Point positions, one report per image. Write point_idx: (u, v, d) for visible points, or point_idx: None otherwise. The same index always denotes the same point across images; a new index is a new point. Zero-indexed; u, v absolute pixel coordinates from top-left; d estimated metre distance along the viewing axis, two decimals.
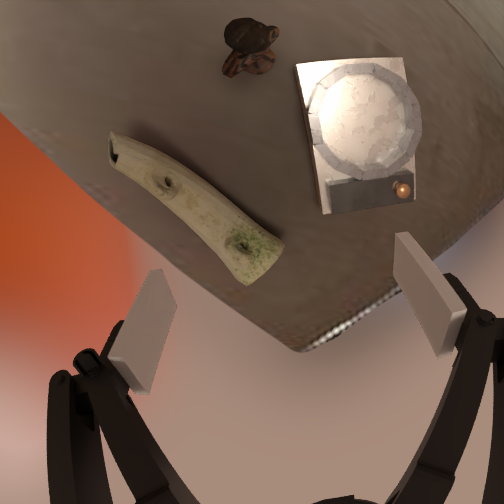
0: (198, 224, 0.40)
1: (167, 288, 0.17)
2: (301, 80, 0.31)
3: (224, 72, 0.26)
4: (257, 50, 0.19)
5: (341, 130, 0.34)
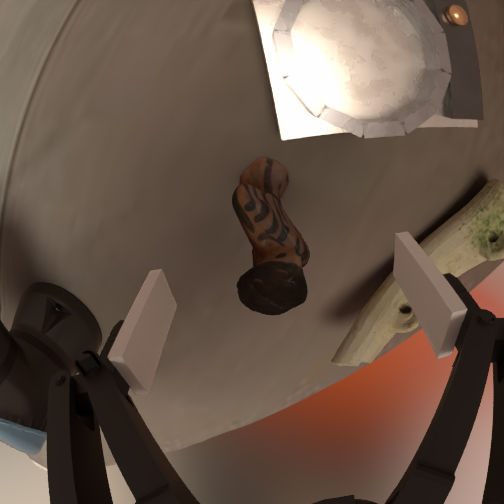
0: None
1: (167, 288, 0.17)
2: (306, 134, 0.23)
3: (304, 265, 0.22)
4: (304, 286, 0.14)
5: (379, 85, 0.21)
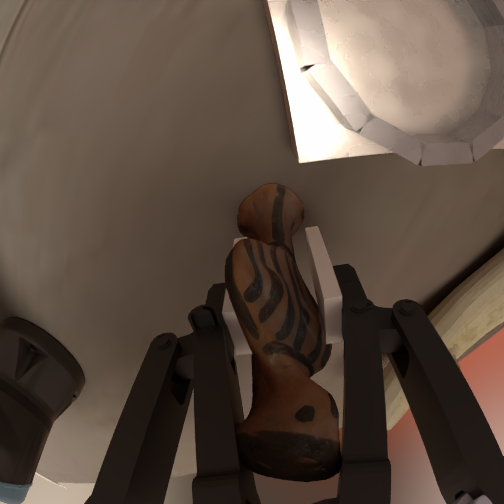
0: (493, 325, 0.21)
1: None
2: (335, 154, 0.16)
3: None
4: (338, 467, 0.07)
5: (437, 87, 0.13)
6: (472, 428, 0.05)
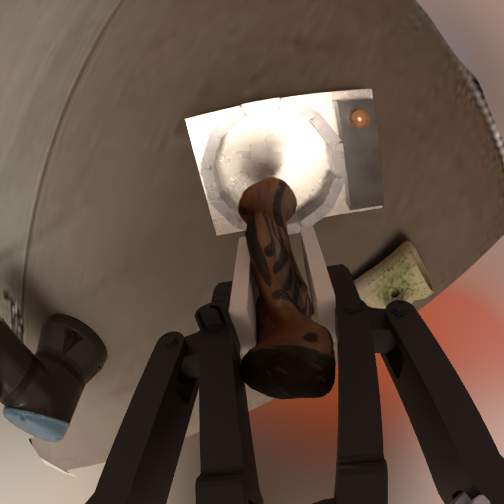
0: None
1: None
2: (233, 231, 0.36)
3: None
4: (332, 383, 0.10)
5: None
6: (468, 428, 0.06)
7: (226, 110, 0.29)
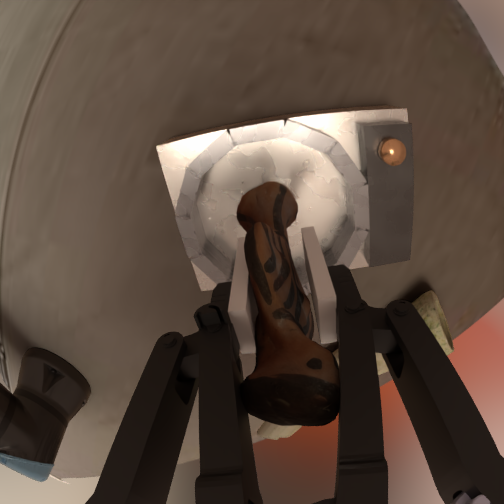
0: None
1: None
2: None
3: None
4: (337, 412, 0.09)
5: (291, 240, 0.26)
6: (469, 428, 0.06)
7: (210, 134, 0.22)
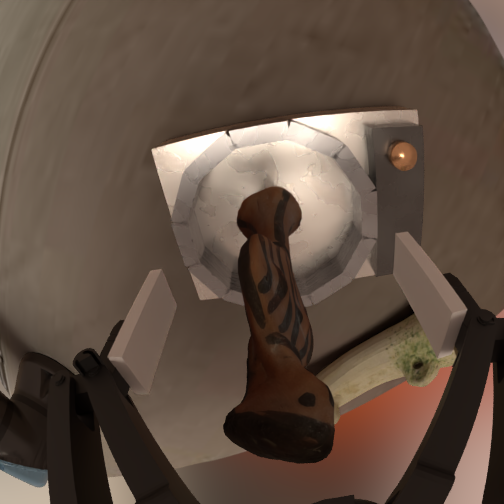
0: (377, 383, 0.32)
1: (167, 288, 0.17)
2: None
3: None
4: (329, 451, 0.08)
5: (294, 248, 0.24)
6: None
7: (209, 136, 0.20)
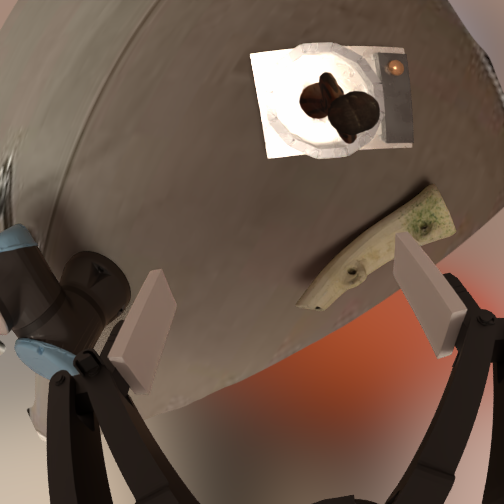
0: (393, 253, 0.43)
1: (167, 288, 0.17)
2: (283, 155, 0.38)
3: (351, 142, 0.26)
4: (379, 113, 0.18)
5: None
6: None
7: (286, 50, 0.31)
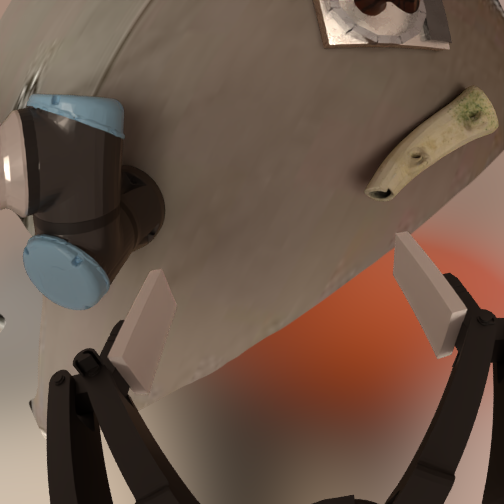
0: (447, 145, 0.37)
1: (167, 288, 0.17)
2: (343, 42, 0.32)
3: (415, 9, 0.21)
4: None
5: (384, 20, 0.30)
6: None
7: None
